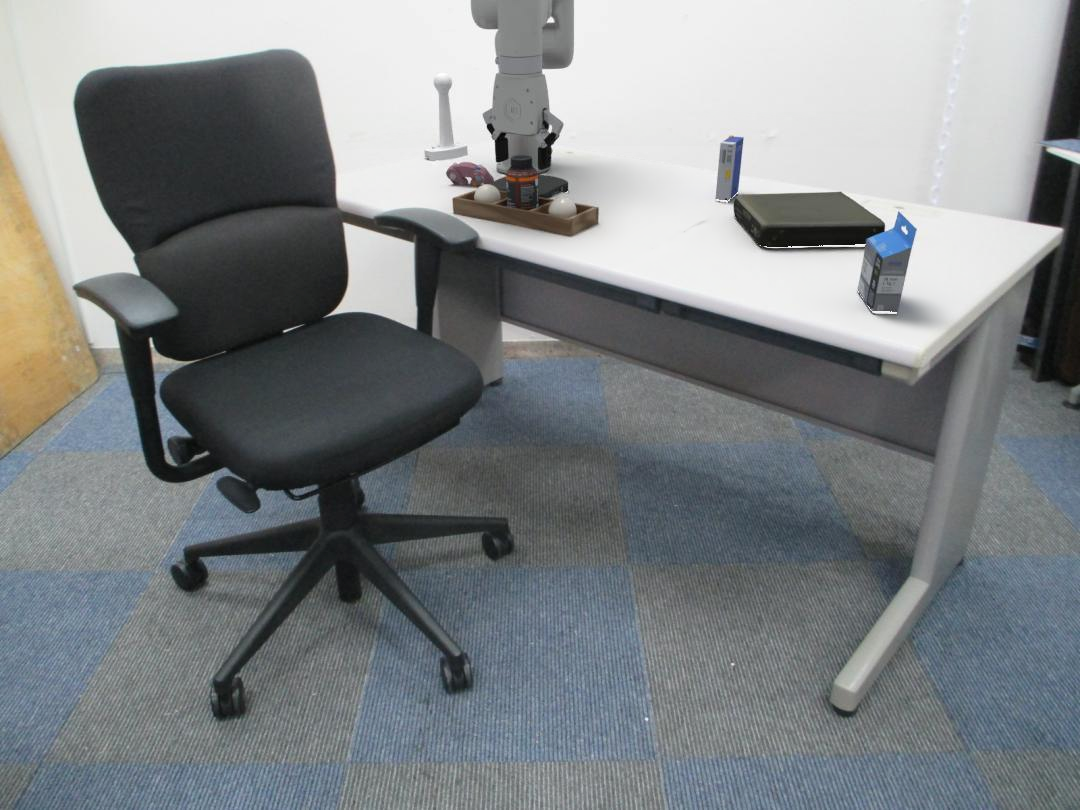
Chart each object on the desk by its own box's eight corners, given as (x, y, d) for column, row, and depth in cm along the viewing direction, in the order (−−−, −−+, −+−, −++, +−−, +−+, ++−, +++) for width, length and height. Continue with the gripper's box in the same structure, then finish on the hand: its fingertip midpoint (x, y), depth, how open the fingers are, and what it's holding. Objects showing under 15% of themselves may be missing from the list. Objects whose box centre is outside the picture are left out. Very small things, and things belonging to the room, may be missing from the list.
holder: (484, 206, 167) (483, 187, 165) (598, 227, 153) (598, 207, 151) (453, 217, 160) (452, 197, 158) (569, 240, 146) (570, 219, 144)
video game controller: (449, 193, 182) (441, 168, 177) (457, 180, 185) (448, 154, 179) (490, 197, 179) (482, 171, 173) (497, 183, 181) (490, 157, 176)
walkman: (724, 192, 174) (730, 134, 168) (737, 194, 173) (744, 135, 167) (714, 201, 168) (719, 141, 162) (727, 203, 166) (733, 142, 161)
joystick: (434, 161, 203) (427, 75, 194) (417, 156, 208) (410, 72, 199) (470, 155, 210) (466, 71, 200) (453, 150, 215) (448, 68, 205)
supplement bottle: (545, 217, 157) (544, 156, 151) (523, 224, 153) (522, 162, 147) (522, 211, 160) (520, 152, 155) (501, 218, 156) (498, 157, 151)
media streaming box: (517, 183, 184) (516, 170, 183) (574, 191, 178) (574, 177, 177) (481, 199, 173) (480, 184, 172) (541, 207, 167) (541, 192, 165)
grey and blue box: (855, 291, 123) (870, 210, 117) (882, 292, 122) (898, 210, 117) (870, 314, 115) (887, 228, 109) (899, 315, 115) (918, 229, 109)
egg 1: (485, 206, 164) (484, 180, 161) (506, 210, 161) (505, 183, 159) (469, 212, 160) (467, 185, 158) (490, 216, 157) (489, 189, 155)
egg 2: (558, 219, 155) (558, 192, 152) (581, 224, 152) (582, 196, 150) (542, 226, 151) (542, 198, 149) (566, 231, 148) (566, 202, 146)
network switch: (895, 249, 141) (901, 220, 139) (767, 258, 138) (770, 229, 135) (831, 212, 161) (835, 186, 159) (717, 219, 158) (720, 193, 156)
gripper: (468, 64, 145) (474, 162, 154) (549, 72, 136) (549, 176, 145) (494, 59, 150) (498, 154, 159) (573, 66, 142) (573, 166, 150)
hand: (523, 164), depth 152 cm, fingers open, 9 cm apart
